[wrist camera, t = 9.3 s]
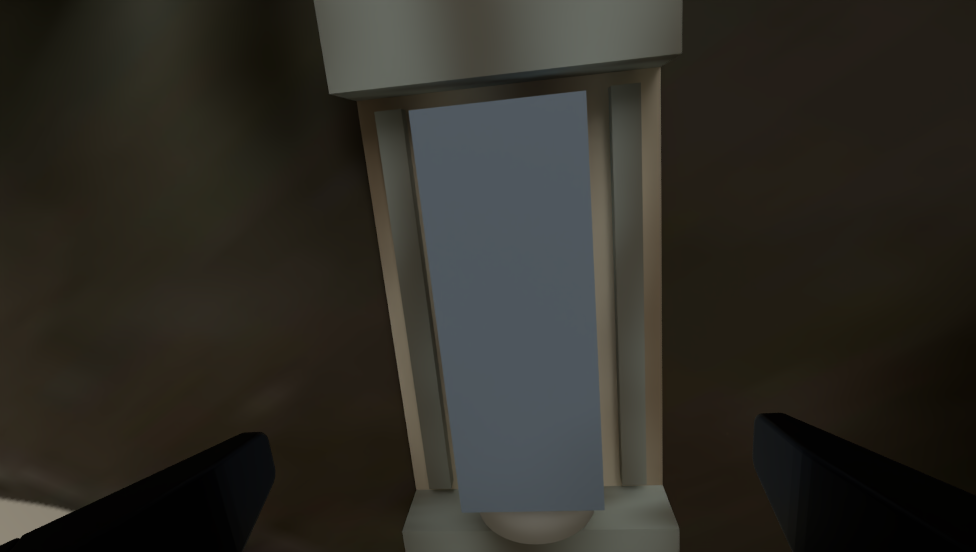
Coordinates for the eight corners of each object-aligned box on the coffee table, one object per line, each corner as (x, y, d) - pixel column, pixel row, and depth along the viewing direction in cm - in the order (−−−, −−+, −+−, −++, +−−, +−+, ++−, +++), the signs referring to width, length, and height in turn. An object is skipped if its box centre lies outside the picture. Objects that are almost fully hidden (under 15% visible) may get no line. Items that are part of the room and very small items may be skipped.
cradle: (652, -20, 17) (682, -62, 14) (657, 525, 23) (678, 591, 19) (352, 19, 18) (312, -10, 15) (429, 527, 24) (411, 590, 21)
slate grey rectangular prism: (568, 109, 17) (585, 90, 12) (586, 448, 21) (607, 564, 15) (448, 122, 18) (408, 110, 12) (485, 451, 21) (468, 564, 16)
